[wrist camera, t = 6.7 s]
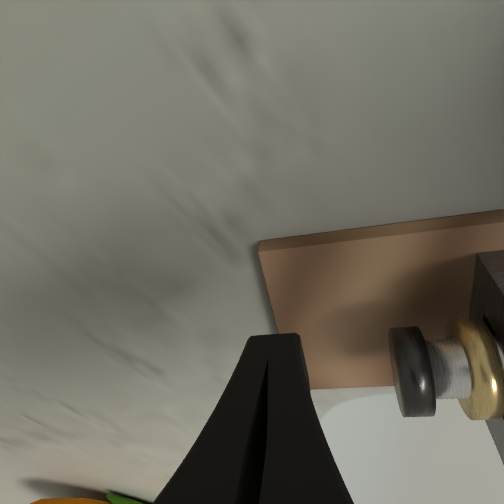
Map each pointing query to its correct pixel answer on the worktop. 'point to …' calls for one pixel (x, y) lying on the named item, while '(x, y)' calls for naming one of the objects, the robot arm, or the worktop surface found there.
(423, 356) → the shaft
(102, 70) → the worktop surface
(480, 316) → the block
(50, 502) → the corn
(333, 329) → the base board
